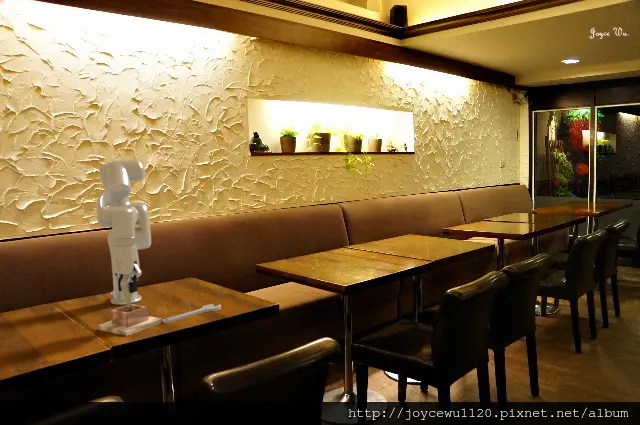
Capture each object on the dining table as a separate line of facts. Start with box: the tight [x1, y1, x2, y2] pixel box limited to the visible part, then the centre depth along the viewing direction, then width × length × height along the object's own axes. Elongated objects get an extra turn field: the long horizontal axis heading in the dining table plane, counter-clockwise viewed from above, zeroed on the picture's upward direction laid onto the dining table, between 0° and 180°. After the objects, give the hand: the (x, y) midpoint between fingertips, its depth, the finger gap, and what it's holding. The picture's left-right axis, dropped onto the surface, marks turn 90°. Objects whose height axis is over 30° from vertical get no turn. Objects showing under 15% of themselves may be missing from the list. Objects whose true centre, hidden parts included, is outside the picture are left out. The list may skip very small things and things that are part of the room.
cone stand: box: [97, 303, 164, 337], centre depth 187 cm, size 16×16×6 cm
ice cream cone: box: [120, 275, 133, 308], centre depth 186 cm, size 5×5×15 cm
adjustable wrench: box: [162, 303, 222, 324], centre depth 199 cm, size 25×6×2 cm, turn 133°
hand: (128, 290), depth 186 cm, fingers closed on ice cream cone, 5 cm apart
